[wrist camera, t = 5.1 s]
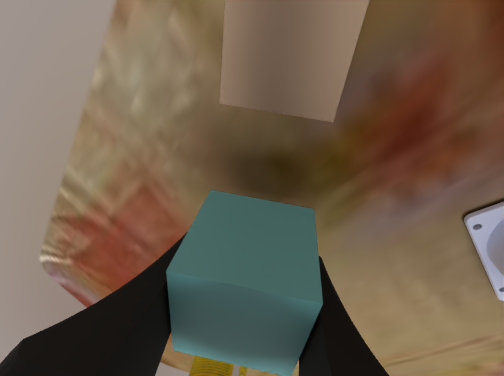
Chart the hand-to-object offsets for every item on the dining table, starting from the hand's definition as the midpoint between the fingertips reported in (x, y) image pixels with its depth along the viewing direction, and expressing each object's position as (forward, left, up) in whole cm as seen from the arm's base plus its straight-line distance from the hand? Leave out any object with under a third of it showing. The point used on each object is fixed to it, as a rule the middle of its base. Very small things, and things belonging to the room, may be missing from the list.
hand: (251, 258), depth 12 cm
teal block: (0, 0, -1) cm, 1 cm away
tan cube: (+7, -6, -8) cm, 12 cm away
